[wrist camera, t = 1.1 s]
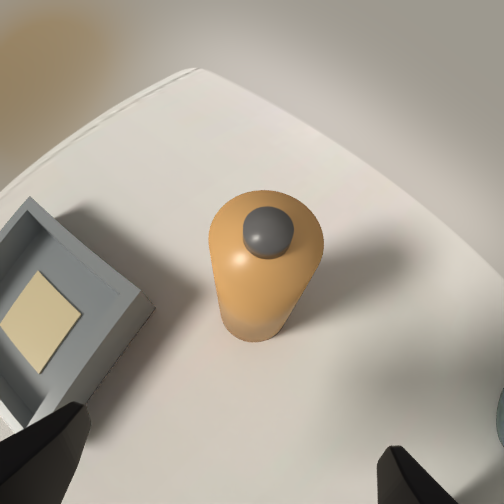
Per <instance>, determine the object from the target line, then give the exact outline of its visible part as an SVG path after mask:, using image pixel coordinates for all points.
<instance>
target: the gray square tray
mask: <svg viewBox="0 0 504 504" xmlns="http://www.w3.org/2000/svg"><path fill="white" fill-rule="evenodd" d="M154 309H155V307H154V305H153V304H152V303H151V302H150V301H149V299H148V298H147V297H146V296H145V294H144V293H143V292H142V291H141V290H140V289H139V288H138V287H136V286H135V285H134V284H132V283H131V282H130V281H129V280H127V279H126V278H125V277H123V276H122V275H121V274H120V273H118V272H117V271H116V270H115V269H113V268H112V267H111V266H110V265H108V264H107V263H106V262H105V261H103V260H102V259H101V258H100V257H99V256H97V255H96V254H95V253H94V252H92V251H91V250H90V249H89V248H88V247H86V246H85V245H84V244H83V243H82V242H81V241H79V240H78V239H77V238H76V237H75V236H74V235H72V234H71V233H70V232H69V231H68V230H67V229H66V228H64V227H63V226H62V225H61V224H60V223H59V222H58V221H56V220H55V219H54V218H53V217H52V216H51V215H50V214H49V213H48V212H47V211H45V210H44V209H43V208H42V207H41V206H40V205H39V204H38V203H37V202H36V201H35V200H34V199H32V198H31V197H30V196H29V197H28V199H27V200H26V201H25V202H24V203H23V204H22V205H21V207H20V208H19V209H18V210H17V211H16V212H15V214H14V215H13V216H12V217H11V218H10V220H9V221H8V222H7V223H6V225H5V226H4V227H3V228H2V230H1V231H0V416H1V418H2V419H3V420H4V421H5V423H6V424H7V425H8V426H9V428H10V429H11V430H12V431H13V433H14V434H15V433H17V432H19V431H21V430H22V429H24V428H26V427H28V426H30V425H31V424H33V423H35V422H37V421H38V420H40V419H42V418H44V417H45V416H47V415H49V414H51V413H52V412H54V411H56V410H58V409H59V408H61V407H63V406H64V405H66V404H68V403H70V402H72V401H76V402H79V403H82V404H84V405H85V404H86V402H87V401H88V400H89V398H90V397H91V395H92V394H93V392H94V391H95V390H96V388H97V387H98V385H99V384H100V383H101V381H102V380H103V378H104V377H105V376H106V374H107V373H108V371H109V370H110V369H111V367H112V366H113V365H114V363H115V362H116V360H117V359H118V358H119V356H120V355H121V354H122V352H123V351H124V349H125V348H126V347H127V345H128V344H129V343H130V341H131V340H132V339H133V337H134V336H135V335H136V333H137V332H138V331H139V329H140V328H141V327H142V325H143V324H144V323H145V321H146V320H147V319H148V317H149V316H150V315H151V313H152V312H153V311H154Z"/></svg>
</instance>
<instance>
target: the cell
mask: <svg viewBox="0 0 504 504" xmlns="http://www.w3.org/2000/svg"><path fill="white" fill-rule="evenodd" d="M209 249H210V255H211V261H212V267H213V273H214V279H215V285H216V290H217V296H218V302H219V307H220V313H221V318H222V321H223V323H224V325H225V327H226V328H227V330H228V331H229V332H230V333H231V334H232V335H234V336H235V337H237V338H238V339H241V340H243V341H247V342H261V341H265V340H268V339H270V338H271V337H273V336H274V335H276V334H277V333H278V332H279V331H280V329H281V328H282V327H283V325H284V323H285V322H286V320H287V318H288V317H289V315H290V313H291V312H292V310H293V308H294V307H295V305H296V303H297V302H298V300H299V298H300V297H301V295H302V293H303V291H304V290H305V288H306V286H307V285H308V283H309V281H310V279H311V278H312V276H313V274H314V272H315V271H316V269H317V267H318V265H319V263H320V261H321V258H322V255H323V249H324V239H323V233H322V229H321V227H320V224H319V222H318V220H317V219H316V217H315V216H314V214H313V213H312V212H311V211H310V210H309V209H308V208H307V207H306V206H305V205H304V204H303V203H301V202H300V201H298V200H297V199H295V198H293V197H291V196H289V195H286V194H284V193H280V192H276V191H269V190H260V191H252V192H247V193H244V194H241V195H239V196H237V197H235V198H233V199H231V200H230V201H228V202H227V203H226V204H225V205H224V206H223V207H222V208H221V209H220V210H219V211H218V212H217V214H216V215H215V217H214V219H213V221H212V224H211V226H210V231H209Z"/></svg>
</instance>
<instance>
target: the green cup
mask: <svg viewBox="0 0 504 504" xmlns="http://www.w3.org/2000/svg"><path fill="white" fill-rule="evenodd" d="M496 425H497V432H498V437H499V440H500V442H501V444H502V445H503V446H504V389H503V391H502V393H501V397H500V400H499V404H498V409H497V418H496Z"/></svg>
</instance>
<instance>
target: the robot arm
mask: <svg viewBox="0 0 504 504" xmlns="http://www.w3.org/2000/svg"><path fill="white" fill-rule="evenodd" d="M90 427H91V421H90V418H89V414H88V411H87V408H86V406H85V405H84V404H82V403H79V402H76V401H72V402H70V403H68V404H66V405H64V406H63V407H61V408H59V409H58V410H56V411H54V412H52V413H51V414H49V415H47V416H45V417H44V418H42V419H40V420H38V421H37V422H35V423H33V424H31V425H30V426H28V427H26V428H24V429H22V430H21V431H19V432H17V433H15V434H13V435H12V436H10V437H8V438H6V439H4V440H3V441H1V442H0V504H61V502H62V500H63V498H64V495H65V493H66V491H67V489H68V486H69V484H70V482H71V480H72V478H73V475H74V473H75V471H76V469H77V466H78V464H79V461H80V458H81V454H82V451H83V448H84V445H85V442H86V439H87V436H88V433H89V430H90ZM377 488H378V504H458V503H457V502H456V501H455V500H454V499H453V498H452V497H451V496H450V495H449V494H448V493H447V492H446V491H445V490H444V489H443V488H442V487H441V486H440V485H439V484H438V483H437V482H436V481H435V480H434V479H433V478H432V477H431V476H430V475H429V474H428V473H427V472H426V470H425V469H424V468H423V467H422V466H421V465H420V464H419V463H418V462H417V461H416V460H415V459H414V458H413V457H412V456H411V455H410V454H409V453H408V452H407V451H406V450H405V449H404V448H403V447H402V446H399V445H398V446H389V447H387V449H386V450H385V452H384V453H383V455H382V456H381V458H380V459H379V461H378V463H377Z"/></svg>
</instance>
